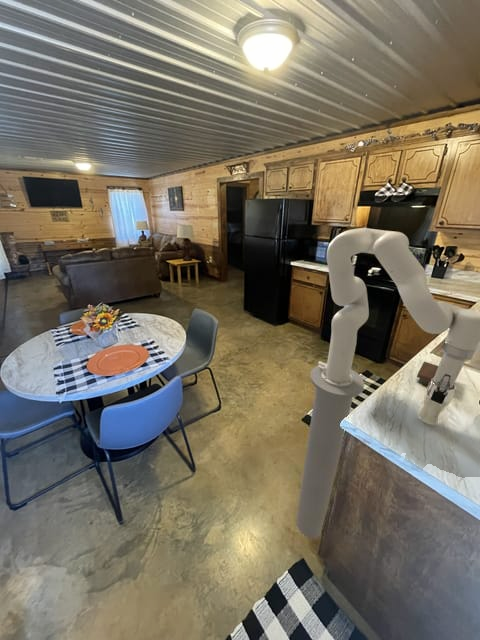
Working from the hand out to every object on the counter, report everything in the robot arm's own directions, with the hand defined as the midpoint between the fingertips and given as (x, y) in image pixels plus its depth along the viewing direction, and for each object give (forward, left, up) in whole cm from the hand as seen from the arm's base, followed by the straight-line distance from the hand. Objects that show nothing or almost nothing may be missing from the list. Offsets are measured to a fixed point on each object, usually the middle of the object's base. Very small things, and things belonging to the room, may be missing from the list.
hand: (438, 395), depth 86 cm
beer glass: (0, 0, -10) cm, 10 cm away
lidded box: (-2, +28, -11) cm, 30 cm away
